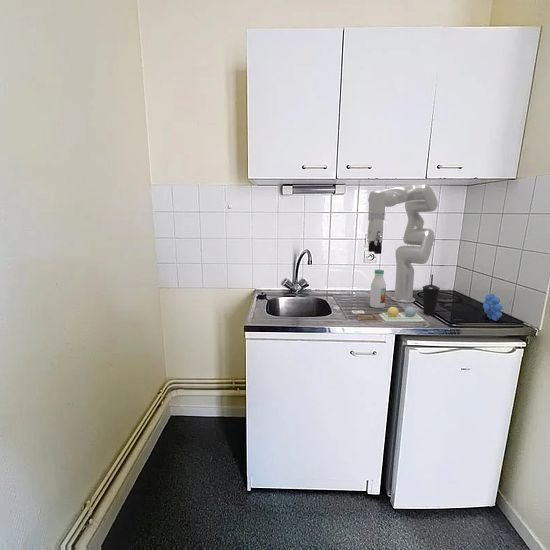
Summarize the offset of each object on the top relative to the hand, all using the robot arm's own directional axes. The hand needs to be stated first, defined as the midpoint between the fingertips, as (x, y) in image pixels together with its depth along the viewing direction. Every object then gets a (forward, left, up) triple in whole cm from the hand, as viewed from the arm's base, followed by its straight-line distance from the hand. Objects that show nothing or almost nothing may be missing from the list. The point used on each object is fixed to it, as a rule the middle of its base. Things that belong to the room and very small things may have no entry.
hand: (374, 252), depth 149 cm
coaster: (+10, -5, -30) cm, 32 cm away
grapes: (+12, +51, -31) cm, 61 cm away
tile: (0, -7, -30) cm, 31 cm away
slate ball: (+10, +15, -27) cm, 33 cm away
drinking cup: (+4, +27, -31) cm, 41 cm away
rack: (+10, +11, -30) cm, 34 cm away
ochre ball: (+10, +7, -27) cm, 30 cm away
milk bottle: (-10, +6, -31) cm, 33 cm away
